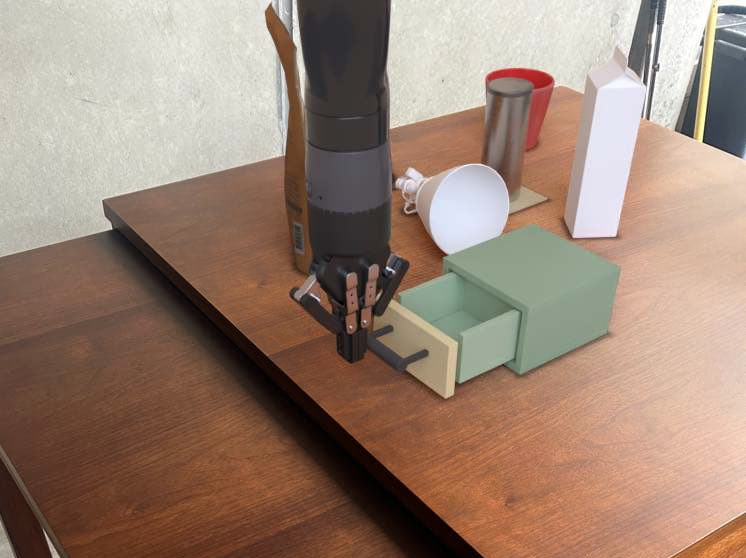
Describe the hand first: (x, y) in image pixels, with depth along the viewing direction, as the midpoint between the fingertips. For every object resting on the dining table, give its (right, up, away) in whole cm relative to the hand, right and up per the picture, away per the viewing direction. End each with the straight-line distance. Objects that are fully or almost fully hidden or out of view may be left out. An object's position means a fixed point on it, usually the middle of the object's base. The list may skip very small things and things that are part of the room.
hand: (352, 358), depth 88 cm
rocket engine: (+14, +25, +32) cm, 43 cm away
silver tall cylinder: (+22, +32, +39) cm, 55 cm away
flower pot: (+27, +46, +53) cm, 76 cm away
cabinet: (+20, +6, +14) cm, 25 cm away
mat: (+22, +32, +39) cm, 55 cm away
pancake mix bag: (-6, +21, +29) cm, 36 cm away
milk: (+33, +24, +31) cm, 52 cm away
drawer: (+10, +2, +8) cm, 12 cm away
